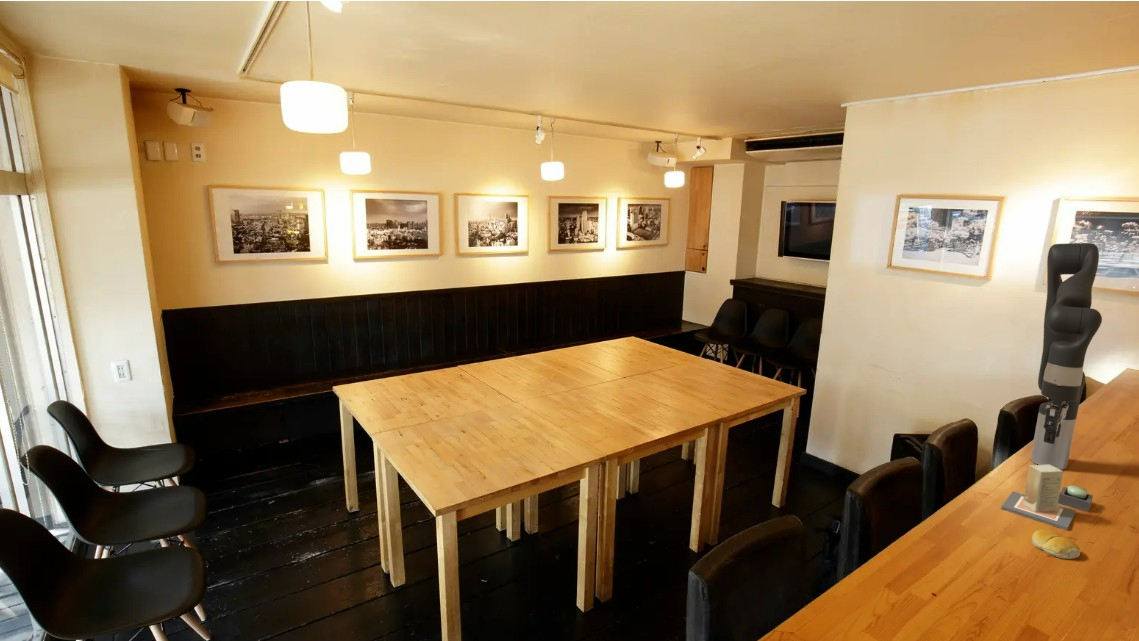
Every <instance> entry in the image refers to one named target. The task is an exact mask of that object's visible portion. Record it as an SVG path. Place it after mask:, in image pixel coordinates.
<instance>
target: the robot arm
mask: <svg viewBox="0 0 1139 641" xmlns="http://www.w3.org/2000/svg"><path fill="white" fill-rule="evenodd" d="M1099 260H1100V252H1099V247H1098V246H1097V245H1096V244H1094V243H1090V242H1081V243H1080V242H1079V243H1074V242H1072V243H1070V242H1069V243H1055V244H1051V246H1050V248H1049V249H1048V253H1047V261H1046V264H1047V265H1046V266H1047V268H1046V269H1047V270H1046V274H1047V276H1046V278H1047V280H1046V281H1047V285H1046V286H1047V287H1046V288H1047V289H1046V291H1047V292H1046V293H1047V294H1046V303H1045V310H1044V318H1043V321H1044V322H1043V343H1042V353H1041V361H1040V365H1039V372H1038V379H1037V385H1038V389H1039V390H1040V394H1041V395H1042V396H1043V397H1045V398H1048V399H1050V400H1049V401H1045V402H1042V403H1041V404H1040V405H1039V408H1038V414H1037V421H1036V424H1035V431H1034V437H1033V444H1032V448H1031V453H1030V458H1031V460H1032V461H1033V462H1034V463H1033V462H1032V461H1031V460H1030V461H1031V462H1032V463H1033V464H1035V463H1036V464H1035V465H1037V464H1038V465H1052V466H1054V467H1056V468H1058V469H1060V470H1061V471H1063V470H1066V469H1067V468H1068V465H1069V458H1070V453H1071V447H1072V444H1073V438H1074V433H1075V427H1076V421H1077V417H1078V412H1079V406H1080V401H1081V398H1082V394H1083V391H1084V387H1085V384H1086V374H1085V372H1084V362H1085V358H1086V354H1087V351H1088V347H1089V346H1090V343H1091V342H1092V340H1093V338H1094V337H1095V335H1096V333H1097V332H1098V330H1099V329H1100V327H1101V325H1102V323H1103V322H1102V321H1103V317H1102V314H1101V312H1100V311H1099V310H1097V309H1094V308H1091V307H1092V296H1093V295H1092V291H1093V286H1094V282H1095V279H1096V276H1097V272H1098V268H1099ZM1062 275H1070V277H1068V278H1066V279H1065V280H1064V281H1063V279H1062Z"/></svg>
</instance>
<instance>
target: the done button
mask: <svg viewBox="0 0 1139 641" xmlns="http://www.w3.org/2000/svg"><path fill="white" fill-rule="evenodd" d="M1067 488H1068V490H1067V493H1068V494H1069V495H1071V496H1074V497H1077V498H1086V494H1088V491H1087V488H1086V489H1085V488H1083V487H1081V486H1077V485H1072V484H1071V485H1068V486H1067Z"/></svg>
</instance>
